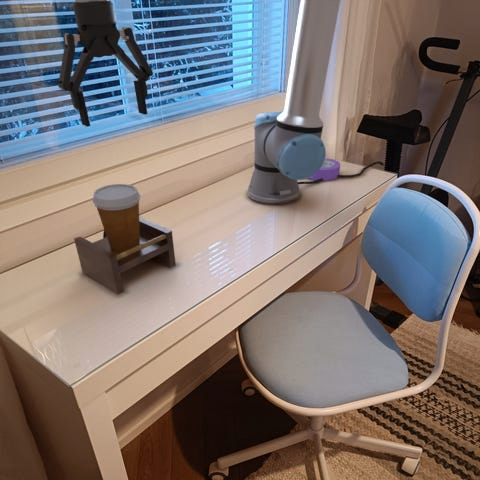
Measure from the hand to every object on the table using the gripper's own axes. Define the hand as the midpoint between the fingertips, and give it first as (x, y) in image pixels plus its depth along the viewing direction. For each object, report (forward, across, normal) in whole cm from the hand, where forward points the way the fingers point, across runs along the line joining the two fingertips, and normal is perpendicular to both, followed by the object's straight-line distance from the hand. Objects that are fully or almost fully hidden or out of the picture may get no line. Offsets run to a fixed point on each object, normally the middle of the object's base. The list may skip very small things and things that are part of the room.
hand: (115, 119), depth 99 cm
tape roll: (+30, -68, -1) cm, 74 cm away
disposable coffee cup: (+22, +10, +14) cm, 28 cm away
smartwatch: (+28, +7, +1) cm, 29 cm away
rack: (+28, +10, +14) cm, 33 cm away
